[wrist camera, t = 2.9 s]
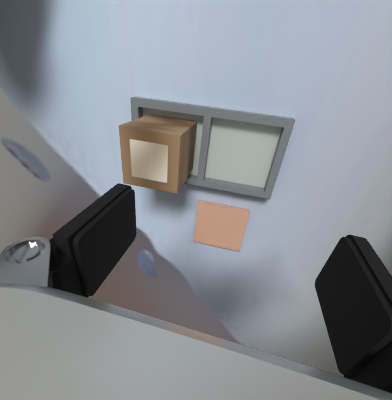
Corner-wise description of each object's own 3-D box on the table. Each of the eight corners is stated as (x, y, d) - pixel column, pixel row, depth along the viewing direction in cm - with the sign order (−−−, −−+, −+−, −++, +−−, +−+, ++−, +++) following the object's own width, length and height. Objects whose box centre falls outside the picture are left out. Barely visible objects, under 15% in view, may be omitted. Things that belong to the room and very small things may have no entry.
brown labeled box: (197, 121, 21) (180, 135, 16) (192, 168, 24) (176, 194, 19) (149, 114, 22) (118, 126, 17) (149, 160, 24) (123, 183, 19)
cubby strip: (292, 117, 20) (295, 120, 18) (269, 193, 24) (269, 199, 23) (136, 96, 22) (130, 97, 21) (139, 169, 26) (134, 173, 25)
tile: (249, 210, 25) (249, 212, 25) (239, 248, 28) (239, 251, 28) (199, 200, 26) (198, 202, 25) (194, 238, 29) (193, 241, 29)
